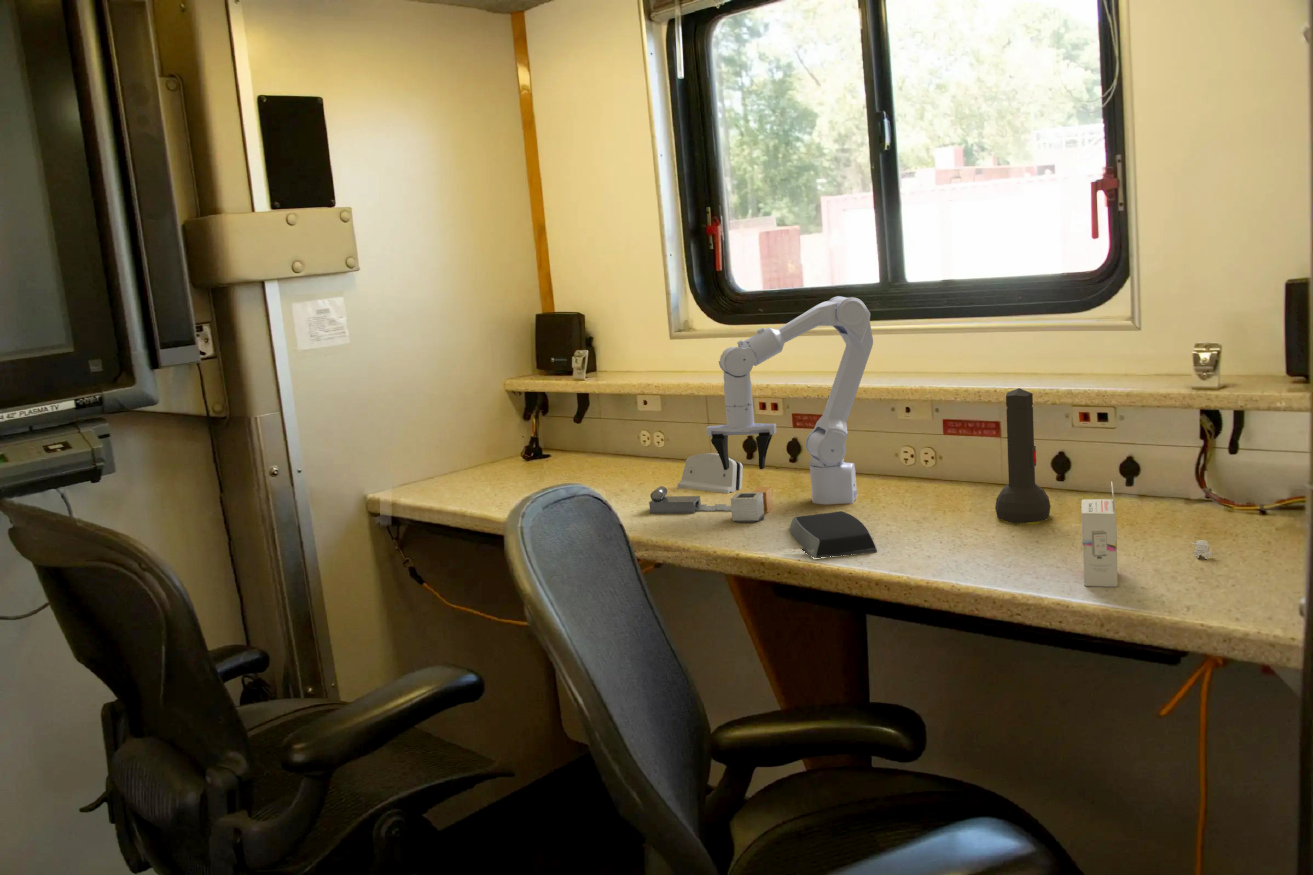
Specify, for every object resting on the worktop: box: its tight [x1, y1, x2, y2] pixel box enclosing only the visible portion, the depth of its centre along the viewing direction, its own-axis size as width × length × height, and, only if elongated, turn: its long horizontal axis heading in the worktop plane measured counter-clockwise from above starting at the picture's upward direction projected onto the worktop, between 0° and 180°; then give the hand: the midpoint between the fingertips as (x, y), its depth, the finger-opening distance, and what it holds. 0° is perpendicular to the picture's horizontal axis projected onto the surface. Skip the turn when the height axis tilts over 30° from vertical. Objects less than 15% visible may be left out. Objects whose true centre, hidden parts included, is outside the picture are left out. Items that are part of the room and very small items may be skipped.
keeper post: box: [733, 514, 765, 524], centre depth 212 cm, size 6×6×3 cm
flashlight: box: [994, 387, 1052, 524], centre depth 196 cm, size 10×25×10 cm
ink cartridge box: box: [1080, 480, 1118, 588], centre depth 160 cm, size 9×5×15 cm, turn 158°
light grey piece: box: [676, 452, 744, 494], centre depth 243 cm, size 17×5×10 cm, turn 45°
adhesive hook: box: [1189, 540, 1213, 560], centre depth 166 cm, size 3×3×3 cm
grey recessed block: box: [730, 491, 765, 522], centre depth 212 cm, size 5×5×4 cm
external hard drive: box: [789, 510, 878, 558], centre depth 194 cm, size 13×19×4 cm
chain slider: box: [695, 486, 774, 514], centre depth 220 cm, size 18×5×4 cm, turn 71°
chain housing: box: [648, 485, 702, 515], centre depth 224 cm, size 10×5×5 cm, turn 71°
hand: (744, 468), depth 218 cm, fingers open, 7 cm apart
